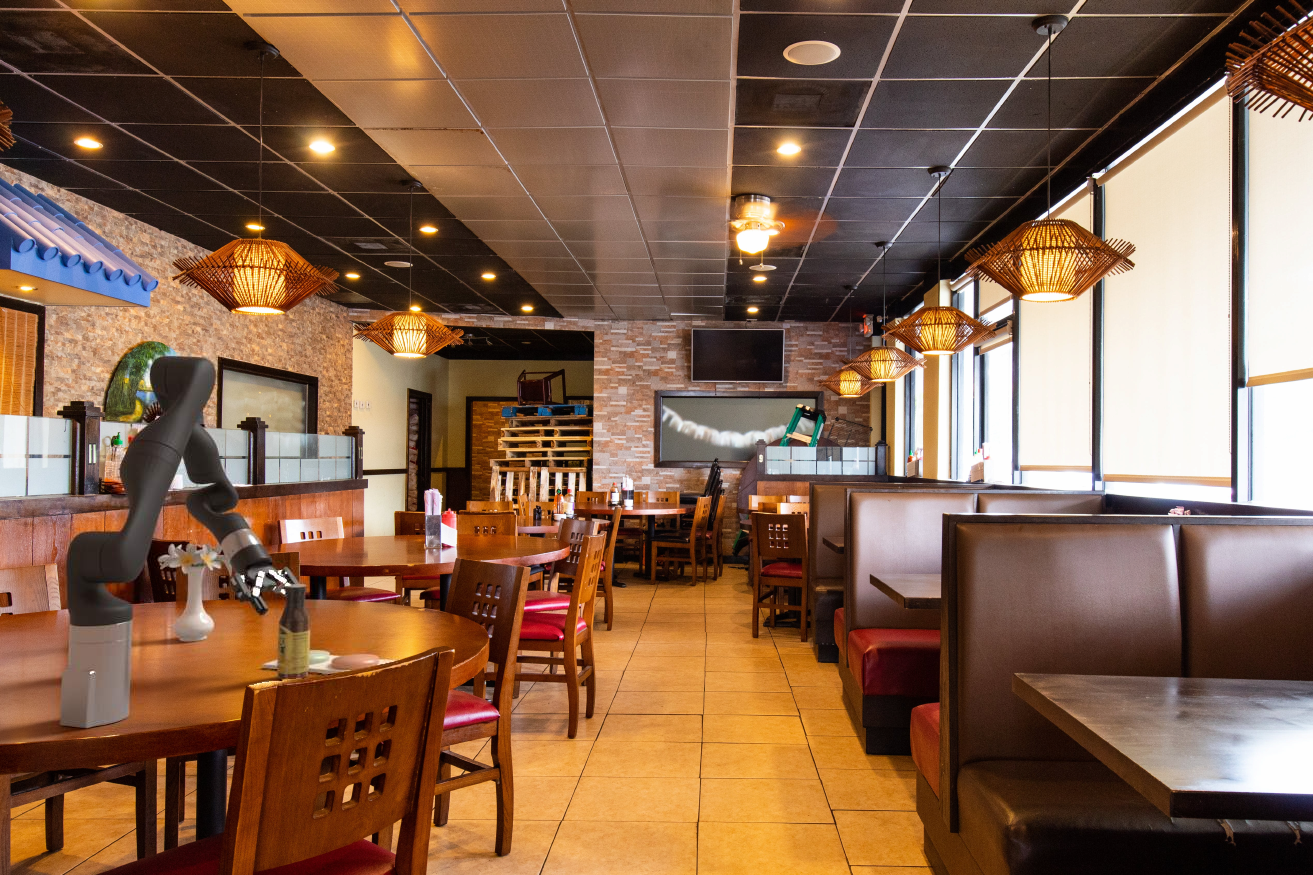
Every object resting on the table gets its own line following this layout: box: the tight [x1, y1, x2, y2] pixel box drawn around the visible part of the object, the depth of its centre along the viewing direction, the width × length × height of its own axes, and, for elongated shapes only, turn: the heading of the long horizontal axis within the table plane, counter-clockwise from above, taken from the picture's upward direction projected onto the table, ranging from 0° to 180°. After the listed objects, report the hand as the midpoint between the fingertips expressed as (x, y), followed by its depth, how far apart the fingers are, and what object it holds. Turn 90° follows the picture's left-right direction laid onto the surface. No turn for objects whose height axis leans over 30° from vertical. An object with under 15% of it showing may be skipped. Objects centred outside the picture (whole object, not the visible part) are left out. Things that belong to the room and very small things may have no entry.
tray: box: [262, 649, 397, 675], centre depth 183 cm, size 12×26×2 cm, turn 75°
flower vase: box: [157, 542, 233, 643], centre depth 211 cm, size 13×18×25 cm
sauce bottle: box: [276, 583, 311, 681], centre depth 173 cm, size 7×6×20 cm
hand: (281, 609), depth 175 cm, fingers open, 8 cm apart
